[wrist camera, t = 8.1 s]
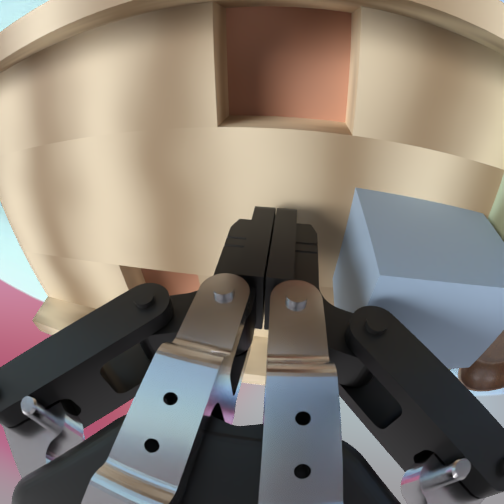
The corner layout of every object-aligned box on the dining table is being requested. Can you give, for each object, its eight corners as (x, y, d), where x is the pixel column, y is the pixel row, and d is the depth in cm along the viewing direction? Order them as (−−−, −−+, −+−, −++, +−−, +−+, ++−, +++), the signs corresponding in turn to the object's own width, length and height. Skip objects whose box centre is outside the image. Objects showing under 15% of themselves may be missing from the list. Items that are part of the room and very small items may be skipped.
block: (482, 213, 9) (533, 290, 6) (444, 289, 12) (469, 367, 9) (355, 187, 10) (379, 275, 6) (332, 278, 13) (335, 368, 9)
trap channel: (517, 47, 6) (586, 66, 2) (420, 330, 17) (432, 388, 14) (-8, 65, 9) (-64, 90, 6) (66, 289, 21) (39, 330, 17)
